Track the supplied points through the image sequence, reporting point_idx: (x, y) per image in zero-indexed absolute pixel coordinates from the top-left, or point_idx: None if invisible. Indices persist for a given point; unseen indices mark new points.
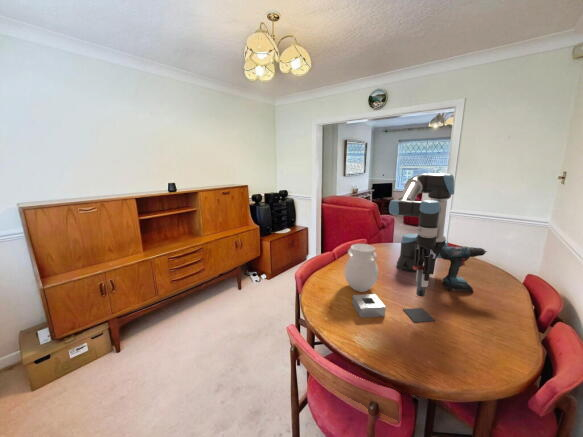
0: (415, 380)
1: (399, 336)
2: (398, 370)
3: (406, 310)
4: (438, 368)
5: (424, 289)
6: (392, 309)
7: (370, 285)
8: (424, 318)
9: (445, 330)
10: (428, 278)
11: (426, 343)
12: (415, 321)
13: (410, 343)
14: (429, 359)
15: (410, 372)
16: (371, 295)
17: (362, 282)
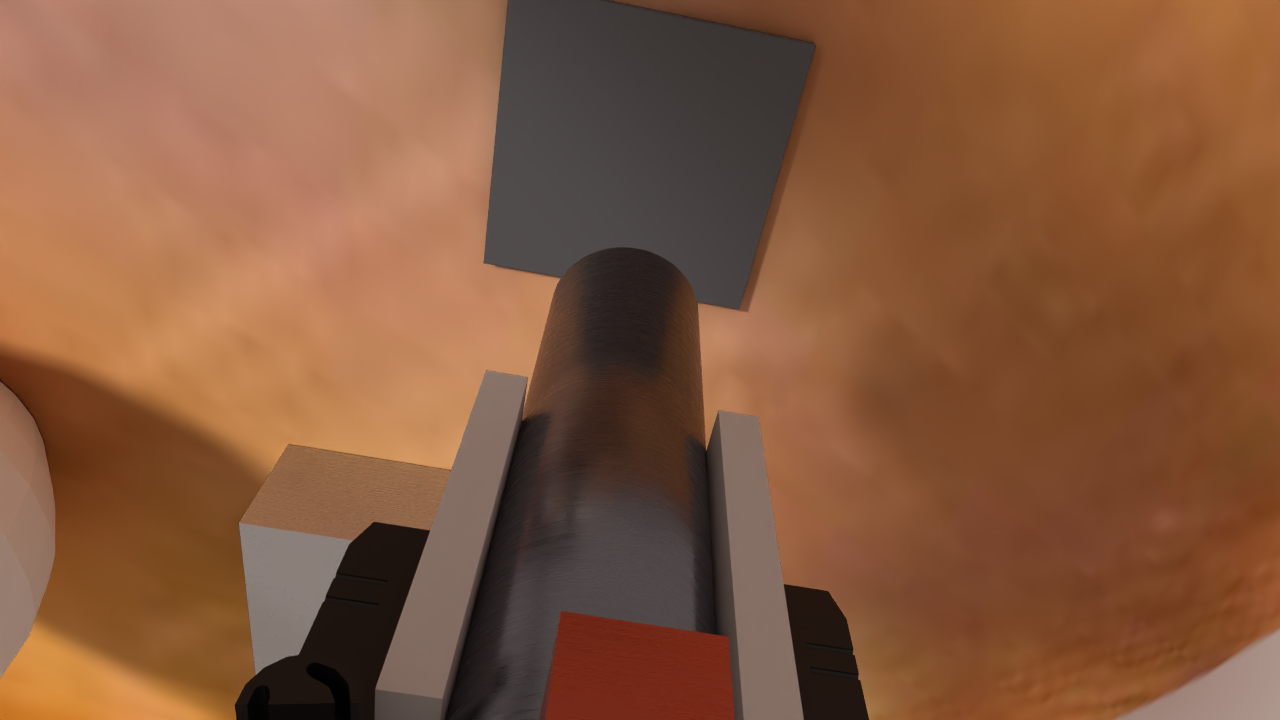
0: (1196, 668)
1: (843, 534)
2: (1083, 697)
3: (519, 242)
4: (1246, 507)
5: (702, 391)
6: (453, 358)
7: (21, 487)
8: (731, 153)
9: (1005, 70)
10: (848, 672)
11: (1024, 407)
12: (739, 294)
13: (951, 513)
14: (1153, 503)
15: (1139, 658)
16: (279, 574)
17: (27, 627)
